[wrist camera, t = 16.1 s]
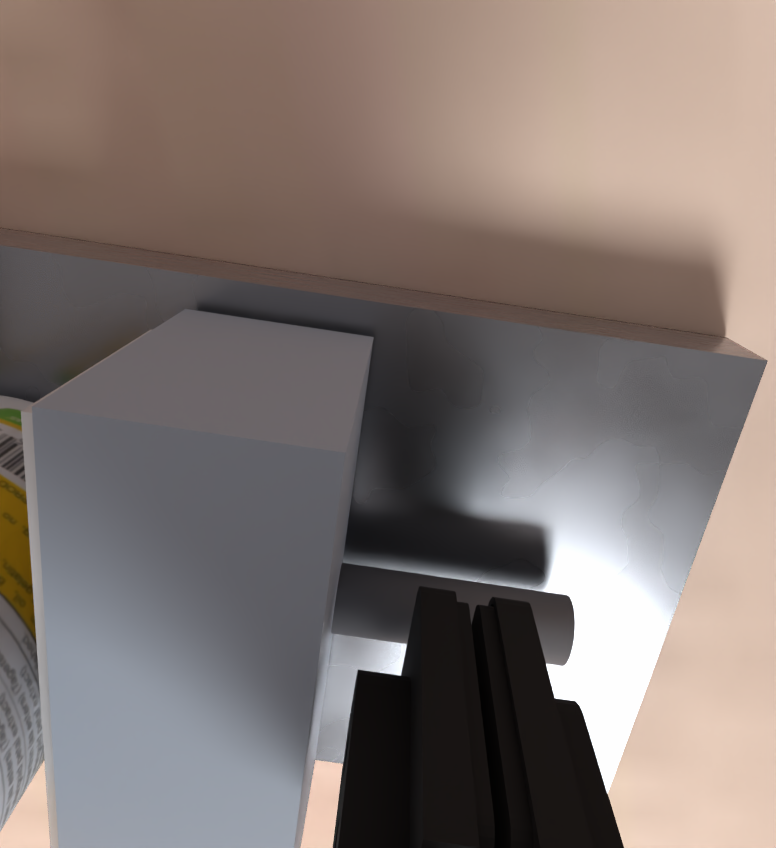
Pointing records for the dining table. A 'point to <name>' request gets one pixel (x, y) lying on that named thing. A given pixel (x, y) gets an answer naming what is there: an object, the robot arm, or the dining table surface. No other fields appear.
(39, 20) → the dining table surface
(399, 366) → the vise bed
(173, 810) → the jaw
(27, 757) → the supplement bottle
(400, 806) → the robot arm
